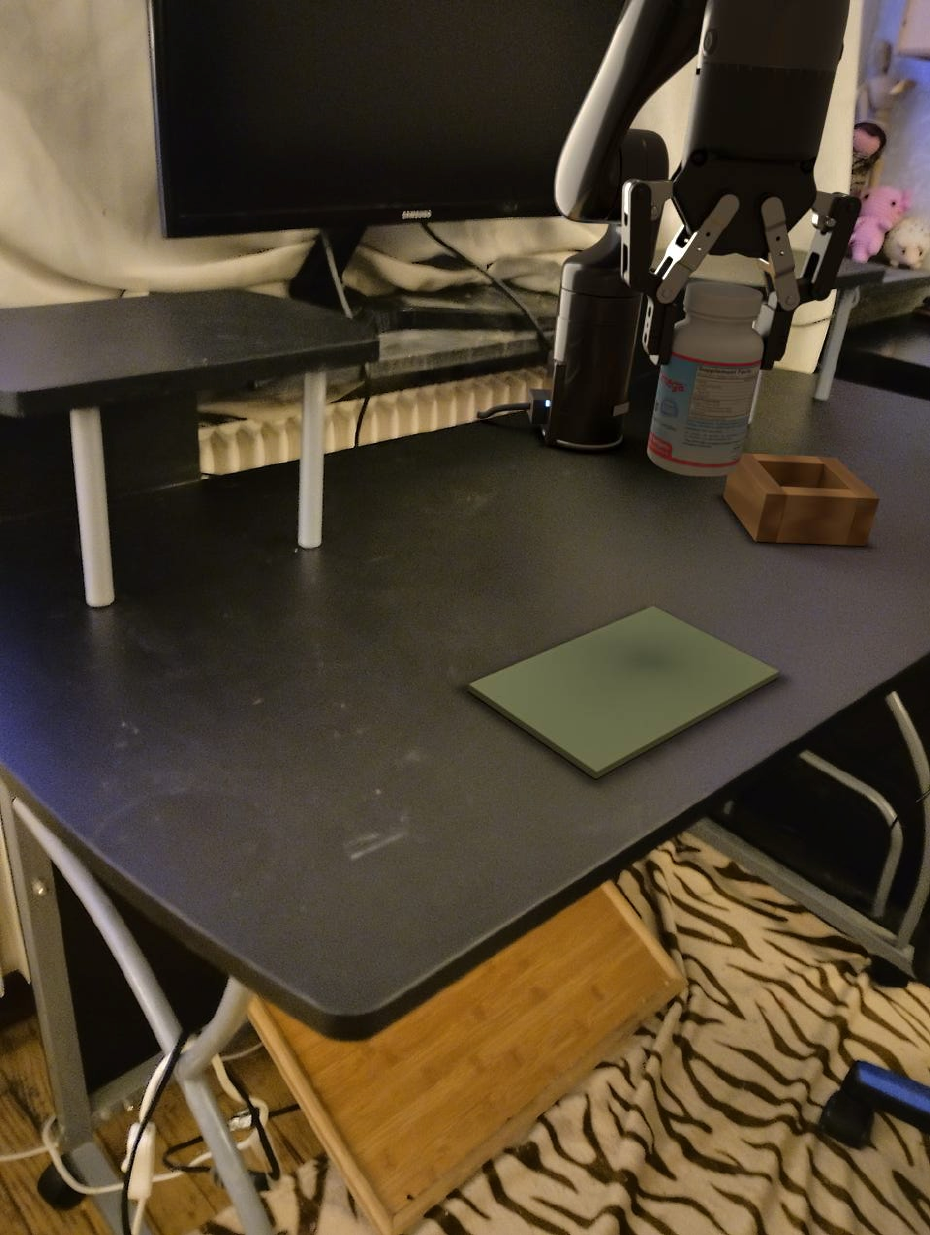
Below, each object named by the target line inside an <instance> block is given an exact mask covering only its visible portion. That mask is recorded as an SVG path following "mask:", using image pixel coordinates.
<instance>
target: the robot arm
mask: <svg viewBox="0 0 930 1235" xmlns="http://www.w3.org/2000/svg"><path fill="white" fill-rule="evenodd" d="M850 6H851V0H625V1H624V4H623V7H622V9H621V12H620V14H619V17H618V19H617V23H616V25H615V28H614V30H613V32H612V35H611V38H610V40H609V43H608V46H607V48H606V51H605V53H604V56H603V57H602V60H601V62H600V65H599V67H598V69H597V71H596V74H595V76H594V78H593V80H592V81H591V82H592V83H591V84H590V86H589V88H588V90H587V92H586V94H585V96H584V99H583V101H582V103H581V105H580V107H579V109H578V111H577V113H576V114H575V117H574V119H573V121H572V124H571V126H570V128H569V130H568V132H567V134H566V137H565V139H564V142H563V144H562V146H561V150H560V152H559V155H558V159H557V163H556V167H555V173H554V178H553V198H554V204H555V206H556V209H557V211H558V213H560V215H561V216H562V217H563V218H564V219H566V220H568V221H571V222H574V223H579V224H588V225H607V228H606V231H605V233H604V234H603V236H602V237H601V238H600V239H599V240H598V241H597V242H595V243H594V244H593V245H591V246H590V247H588V248H586V249H583V250H581V251H579V252H577V253H575V254H572V255H570V256H568V257H567V258H566V259H565V260H564V261H563V263H562V265H561V270H560V278H559V286H558V287H559V288H558V297H557V306H556V315H555V324H554V332H553V340H552V342H553V343H552V349H550V350H549V351H548V355H547V366H546V373H545V374H546V375H545V384H544V388H529V389H528V395H527V396H528V398H527V402H517V403H516V402H514V403H504V404H499V405H494V406H493V407H490V408H488V409H487V410H485V411H480V410H478V411H477V413H476V419H478V420H485V419H489V418H491V417H492V416H493V417H494V415H496V414H498V413H504V412H511V411H512V412H513V411H514V412H516V411H526V413H527V416H528V419H529V423H530V424H531V425H540V431H541V433H542V437H543V439H544V442H545V444H546V445H548V446H556V447H560V448H564V449H568V450H574V451H580V452H581V451H582V452H603V451H610V450H613V449H616V448H618V447H619V446H621V444H622V440H623V435H622V434H623V430H624V423H625V422H624V421H625V416H626V413H628V412H629V406H630V402H629V401H628V396H629V395H628V394H629V388H630V383H631V377H632V376H631V375H632V368H633V362H634V355H635V348H636V342H637V336H638V328H639V323H640V322H639V321H640V316H641V311H642V310H641V309H642V303H643V295H645V296H646V297H647V306H646V307H647V308H646V315H645V321H644V326H643V327H644V328H643V333H642V340H641V342H642V346H643V350H644V351H645V352H646V353H647V355H649V359H650V361H651V362H652V363H653V365H654V366H661V365H667V364H668V361H669V356H670V350H671V344H672V338H673V332H674V326H675V324H676V320H677V313H678V307H679V306H678V305H677V304H676V303H675V299H676V298H677V296H678V294H680V292H681V291H682V288H683V286H685V284H686V282H688V279H689V278H690V276H691V275H692V274H693V273H694V272H695V271H697V270H698V269H699V268H700V266H701V264H702V263H703V261H704V260H705V258H706V257H707V256H708V255H709V256H715V257H725V256H730V255H733V254H738V255H740V256H743V257H746V258H749V259H755V260H756V264H757V266H758V268H759V270H760V272H761V275H762V279H763V283H764V287H765V292H766V296H767V298H768V303H762V305H761V309H760V314H759V315H760V316H759V321H758V325H757V330H756V331H757V332H758V333H759V334H760V336H761V337H762V340H763V343H764V350H763V356H762V361H761V366H760V371H772V370H773V368H774V366H775V362H781V360H782V359H783V357H784V356H785V354H786V350H787V344H788V341H789V336H790V333H791V327H792V323H793V319H794V314H795V312H796V310H797V309H798V308H799V307H801V306H803V305H804V304H808V303H812V302H815V301H816V302H823V301H826V300H827V299H828V298H829V297H830V296H831V294H832V291H833V288H834V285H835V282H836V279H837V277H838V274H839V271H840V268H841V266H842V263H843V260H844V257H845V255H846V253H847V249H848V247H849V244H850V241H851V238H852V235H853V233H854V231H855V229H856V228H855V227H856V225H857V223H858V222H857V221H858V219H859V217H860V214H861V211H862V207H863V203H862V200H861V198H860V197H857V196H854V195H852V194H848V193H844V192H841V191H834V192H827V191H822V190H818V188H817V184H816V181H815V167H816V166H815V165H816V162H817V160H818V157H819V152H820V149H821V145H822V139H823V135H824V131H825V126H826V121H827V117H828V113H829V108H830V103H831V98H832V93H833V89H834V85H835V80H836V76H837V70H838V68H839V64H840V62H841V60H842V57H843V53H844V48H845V44H844V43H845V35H846V30H847V25H848V20H849V14H850ZM696 57H697V59H696V65H695V72H694V78H693V85H692V91H691V96H690V103H689V109H688V115H687V122H686V127H685V128H686V129H685V134H684V139H683V140H684V141H683V148H682V155H681V159H680V162H679V164H678V166H677V168H676V170H675V171H674V172H673V174H672V176H671V177H670V157H669V156H670V155H669V151H668V147H667V143H666V142H665V140H664V138H663V137H662V136H661V134H660V133H658V132H656V131H655V130H650V129H645V128H644V129H643V128H631V127H632V124H633V123H634V121H635V120H636V117H637V116H638V114H639V113H640V112H641V110H642V109H643V107H644V106H645V105H646V104H647V102H648V101H649V100H650V99H651V98H652V97H653V96H654V95H655V94H656V93H657V92H658V91H659V90H660V89H661V88H662V87H663V86H664V85H665V84H666V83H668V82H669V81H670V80H671V79H672V78H674V76H676V75H677V74H678V73H679V72H680V71H682V70H683V69H684V68H685V67H686V66H687V65H688V64H689V63H690V62H692V60H694V58H696ZM669 200H671V202H672V205H673V207H674V208H675V211H676V212H677V215H678V217H679V219H680V221H681V223H682V224H681V226H680V228H679V229H678V231H677V232H676V234H675V235H674V237H673V239H672V241H671V242H670V244H669V245H668V247H667V249H666V250H665V255H664V257H663V259H662V260H661V262H660V263H659V265H658V266H657V268H656V270H655V272H653V271H651V269H652V266H653V262H654V259H655V254H656V249H657V243H658V238H659V233H660V229H661V228H660V227H661V223H662V219H663V215H664V209H665V205H666V203H667V201H669ZM810 210H811V212H812V217H811V225H812V227H813V228H814V229H815V232H814V235H813V237H812V240H811V243H810V246H809V249H808V252H807V253H806V254H807V255H806V258H805V259H804V260H805V261H804V263H803V266H802V268H801V271H800V274H799V277H798V278H797V277H796V273H795V268H796V263H795V258H794V254H793V248H792V245H791V241H790V237H789V233H790V232H791V231H792V230H793V229H794V228H795V227H796V225H797V224H799V222H800V221H801V220H802V219H803V218H804V217H805V216H806V215H807V213H808V212H809V211H810Z"/></svg>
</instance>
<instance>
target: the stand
mask: <svg viewBox="0 0 930 1235" xmlns="http://www.w3.org/2000/svg"><path fill="white" fill-rule="evenodd" d="M722 498H723V499H724V500H725V502H726V503H727V505H728V506H729V508H730V509H731V510H732V511H733V513H734V515H735V516H736V518H738V520H739V521H740V523H741V524H742V526H743V527H744V528H745V529H746V531H747V532H748V534H749V535H750V537H751V538H752V540H754V542H756V543H778V544H779V543H780V544H802V545H805V544H806V545H807V544H808V545H825V546H826V545H828V546H830V545H831V546H848V547H849V546H853V547H866V546H867V544H868V540H869V537H870V533H871V530H872V526H873V524H874V521H875V517H876V513H877V510H878V506H879V503H880V500H881V498H880V497H879V496H878V495H877V494H876V493H875V492H874V491H873V490H871V488H869V487H868V485H866V484H865V483H864V482H862V480H860V479H859V478H858V476H856V475H855V474H854V473H853V472H852V471H851V470H850V469H849V468H848V467H846V466H845V465H844V464H843V463H842V462H841V461H840V460H839V459H838V458H837V457H831V456H812V455H793V454H792V455H788V454H770V453H769V454H767V453H750V452H749V453H748V452H742V455H741V459H740V463H739V465H738V467H737V468H736V469H735V470H734V471H733V472H731V473H729V474H727V477H726V482H725V488H724V492H723V497H722Z"/></svg>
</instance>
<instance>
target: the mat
mask: <svg viewBox="0 0 930 1235" xmlns="http://www.w3.org/2000/svg"><path fill="white" fill-rule="evenodd" d="M779 675H780V670H778V669H776V668H775V667H772V666H770V665H768V664H766V663H764V662H762V661H761V660H759V659H757V658H755V657H753V656H751V655H749V654H747V653H745V652H743V651H742V650H739V649H737V648H736V647H734V646H732V645H729V644H728V643H726V642H724V641H722V640H720V639H718V638H716V637H715V636H713V635H711V634H708V633H707V632H704V631H703V630H701V629H699V628H696V627H695V626H693V625H691V624H689V623H687V622H685V621H683V620H681V619H679V618H678V617H676V616H673V615H672V614H670V613H669V612H666V611H664V610H662V609H660V608H658V607H656V606H654V605H652V606H649V607H647V608H645V609H642V610H639V611H637V612H635V613H633V614H631V615H628V616H625V617H624V618H621V619H618V620H617V621H614V622H612V623H609V624H607V625H605V626H602V627H600V628H598V629H595V630H593V631H590V632H588V633H585V634H584V635H580V636H579V637H576V638H573V639H571V640H569V641H567V642H565V643H561V644H560V645H558V646H555V647H553V648H550V649H548V650H545V651H543V652H541V653H538V654H536V655H533V656H532V657H528V658H526V659H524V660H521V661H519V662H517V663H514V664H512V665H510V666H508V667H506V668H503V669H500V670H498V671H496V672H494V673H491V674H489V675H486V676H485V677H482V678H480V679H477V680H475V681H473V682H470V683H468V687H467V688H468V690H467V691H468V692H469V693H470V694H472V695H474V696H475V697H477V698H478V699H480V700H481V701H482V702H484V703H485V704H487V705H488V706H490V707H491V708H493V709H494V710H495V711H496V712H498V713H499V714H501V715H502V716H504V717H505V718H507V719H508V720H509V721H511V722H512V723H514V724H516V725H517V726H518V727H519V728H521V729H523V730H524V731H525V732H527V733H528V734H530V735H531V736H532V737H533V738H535V739H536V740H538V741H539V742H541V743H543V744H544V745H546V746H547V747H549V748H550V749H551V750H553V751H554V752H556V753H557V754H558V755H559V756H562V757H563V758H564V759H566V760H567V761H568V762H570V763H572V764H573V765H574V766H576V767H578V768H579V769H581V770H582V771H583V772H584V773H586V774H588V775H589V776H590V777H592V778H593V779H595V780H597V779H598V778H601V777H602V776H604V775H606V774H608V773H609V772H612V771H613V770H614V769H615V770H616V769H617V768H618V767H620V766H622V765H625V764H626V763H628V762H629V761H631V760H632V759H635V758H636V757H638V756H640V755H642V754H643V753H645V752H647V751H649V750H651V749H652V748H654V747H656V746H658V745H659V744H661V743H663V742H665V741H667V740H668V739H671V738H672V737H674V736H675V735H678V734H679V733H682V732H683V731H685V730H686V729H688V728H690V727H691V726H693V725H696V724H697V723H699V722H701V721H703V720H704V719H706V718H708V717H709V716H712V715H714V714H715V713H717V712H719V711H720V710H722V709H724V708H726V707H729V705H732V704H733V703H735V702H736V701H738V700H740V699H742V698H745V696H747V695H749V694H751V693H752V692H754V691H756V690H758V689H760V688H761V687H763V686H765V685H767V684H769V683H771V682H773V681H774V680H775V679H778V678H779Z"/></svg>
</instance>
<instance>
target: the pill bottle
mask: <svg viewBox="0 0 930 1235" xmlns="http://www.w3.org/2000/svg"><path fill="white" fill-rule="evenodd" d="M763 298H764V295H763V293H762V292H761V291H760V290H759V289H756V288H753V287H750V286H746V285H740V284H735V283H728V282H721V281H720V282H719V281H695V282H690V283H688V284H687V285H686V288H685V294H684V299H683V302H682V305H683V309H682V310H683V311H684V313H685V318H684V319H681V320H679V321H677V322H675V326H674V332H673V338H672V344H671V350H670V356H669V361H668V364H667V365H660V370H659V375H658V376H659V377H658V382H657V388H656V393H655V400H654V406H653V412H652V418H651V424H650V429H649V436H648V441H647V450H646V452H647V457H648V458H649V460H651V462H652V463H653V464H655V465H656V466H658V467H660V468H661V469H664V470H666V471H668V472H670V473H671V472H672V473H673V474H678V475H681V476H689V477H723V476H726V475H727V476H728V474H729V473H731V472H733V471H734V470H735V469H736V468H737V467H738V465H739V463H740V459H741V455H742V453H743V449H744V444H745V440H746V436H747V430H748V426H749V421H750V416H751V412H752V407H753V403H754V397H755V394H756V389H757V384H758V379H759V375H760V371H761V370H760V366H761V361H762V356H763V350H764V343H763V340H762V337H761V336H760V334H759V333H758V332H757V330H756V329H755V328H754V327H753V325H754V322H755V321H757V320H758V318H759V315H761V310H762V304H763V303H762V302H763Z"/></svg>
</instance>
